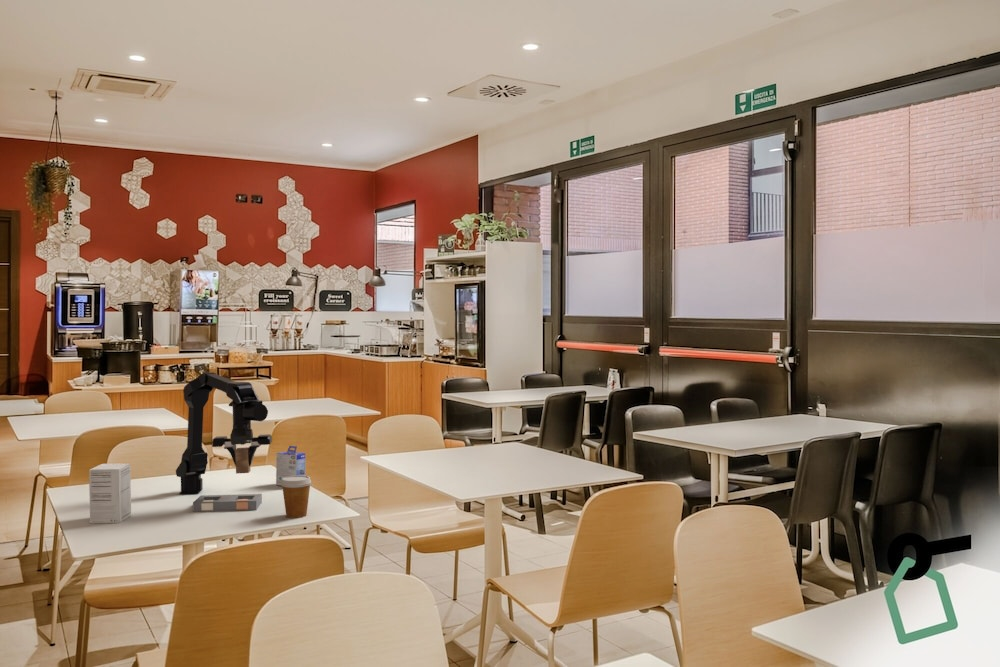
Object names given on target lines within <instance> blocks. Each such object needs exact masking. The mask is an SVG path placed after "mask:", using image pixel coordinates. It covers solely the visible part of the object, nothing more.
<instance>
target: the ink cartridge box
mask: <svg viewBox="0 0 1000 667" xmlns="http://www.w3.org/2000/svg"><path fill="white" fill-rule="evenodd" d="M297 449H298V446H295V445H289V446H288V449H287V451H281V452H277V453H276V455H275V456H276V460H275V461H276V463H275V466H276V467H275V470H276V471H275V472H276V473H275V476H276V479H275V485H276V486H281V487H282V484H281V482H282V478H284V477H287V476H295V475H303V476H306V452H297Z"/></svg>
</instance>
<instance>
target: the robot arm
mask: <svg viewBox="0 0 1000 667" xmlns="http://www.w3.org/2000/svg"><path fill="white" fill-rule="evenodd" d="M214 389H216V390H219V391H221V392H223V393H225V395H226V397H227V398H228V399H230V400H231V402H230V403H228V406H229V407H232V430H231V433H230V438H228V436H227V435H224V436H223V435H222V436H215V437H214V438H212V440H211V447H212V448H217V447H219V448H221V447H223V449H224V450H227V451H228V452H229V454H230V456H231V458H232V461H233V463H234V466H235V467H236V455H235V450H236V449H237V445H241V446H242V445H243V446H244V445H246V444H250V446H248V447H249V449H250V452H249V466H250V467H251V466H252V462H253V459H254V456H255V454H256V452H257V449H258V448H259V447H261V446H264V445H265V446H266V445H271V444H272V443H273V436H272V435H271V434H270V433H269V434H259V435H258V436H255V437H254V432H253V429H252V424H251V423H252V422H263V421H265V420H266V419H267V417H268V415H269V414H268V413H269V410H268V408H267V406H266V405H265V404H263V400H260V399H259V396H258V395H257V393H256V391H255V389H254V387H253V384H252V383H251V382H249V381H235V380H232V379H230V378H227V377H224V376H222V375H220V374H217V373H216V372H213V371H210V372H209V371H208V372H203V373H202V372H201V374H199V376H198V377H196V378H194V379H192V380H190V381H189V382H188V383H187V384H185V385H184V387H183V400H184V401H185V404H186V405H187V407H188V415H187V416H188V417H187V419H188V420H187V443H186V448H185V450H184V451H183V453H182V455H181V462H180V463H179V464H178V466H177V468H176V469H175V474H176V475H175V476H176V477H179V478H180V492H179V495H191V494H193V495H194V494H196V495H197V494H200V492H202V491H203V488H204V487H203V478H202V475H205V474H206V470H207V467H208V466H207V465H208V456H209V455H208V452H206V451H205V449H203V434H204V433H203V431H204V430H203V429H204V428H203V427H204V426H203V425H204V407H205V406H206V405H207V403H208V401H209V398H210V393H211V392H212V391H213V390H214Z"/></svg>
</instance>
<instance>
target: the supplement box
mask: <svg viewBox="0 0 1000 667" xmlns="http://www.w3.org/2000/svg"><path fill="white" fill-rule="evenodd" d="M131 474H132V470H131V463H101V464H99V465H97V466H96V465H95V466H94V467H93V468H90V469H89V470H88V476H89V478H88V481H89V524H121V523H122V522H124V521H125V520H126V519H128V518H129V517H131V516H132V488H131V486H132V485H131Z"/></svg>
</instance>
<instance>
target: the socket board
mask: <svg viewBox="0 0 1000 667" xmlns="http://www.w3.org/2000/svg"><path fill="white" fill-rule="evenodd" d="M262 498H263V495H262V493H251V494H250V493H249V494H248V493H247V494H246V493H245V494H244V493H243V494H242V493H241V494H240V493H239V494H238V493H237V494H209V495H206V494H204V495H203V494H202V495H199V496H198V497H197V498H196V499H195V500H194V501H192V512H223V511H224V512H225V511H227V512H229V511H233V510H234V511H257V510H258V508H260V506H261V505H262V504H263V501H262V500H263V499H262Z"/></svg>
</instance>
